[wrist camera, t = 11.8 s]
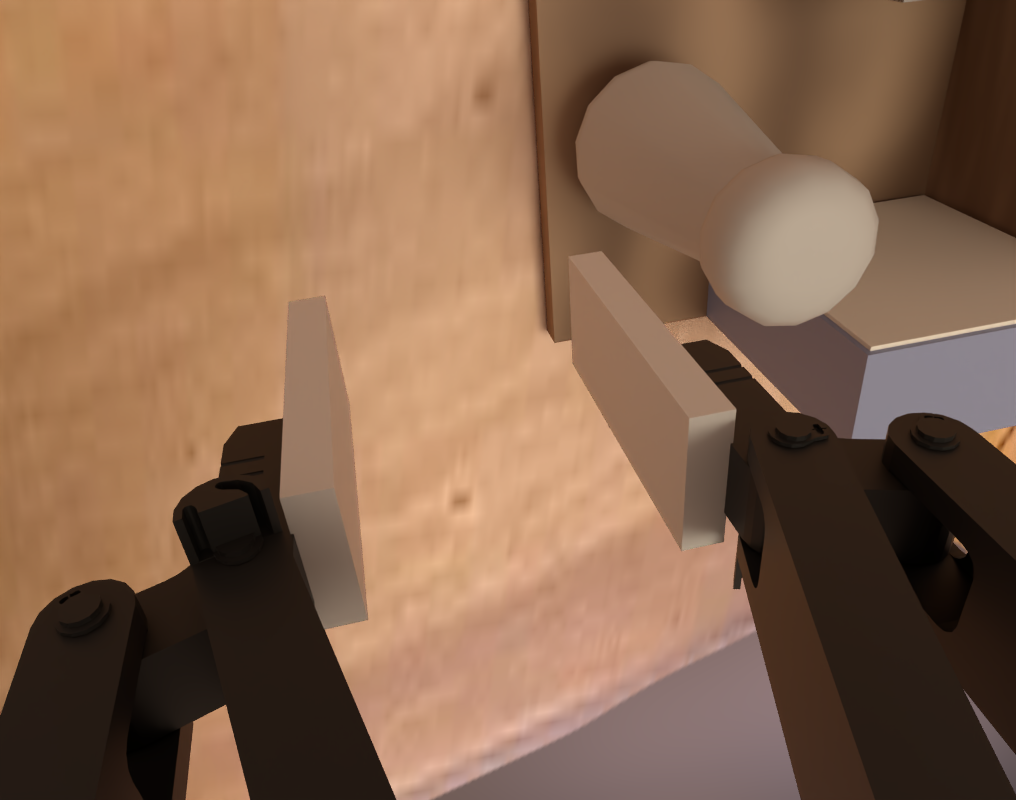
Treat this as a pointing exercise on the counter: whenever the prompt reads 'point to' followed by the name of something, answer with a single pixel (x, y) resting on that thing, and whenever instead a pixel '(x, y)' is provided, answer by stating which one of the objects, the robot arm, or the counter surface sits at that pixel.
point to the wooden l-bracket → (782, 110)
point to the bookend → (905, 0)
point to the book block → (902, 329)
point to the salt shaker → (725, 194)
